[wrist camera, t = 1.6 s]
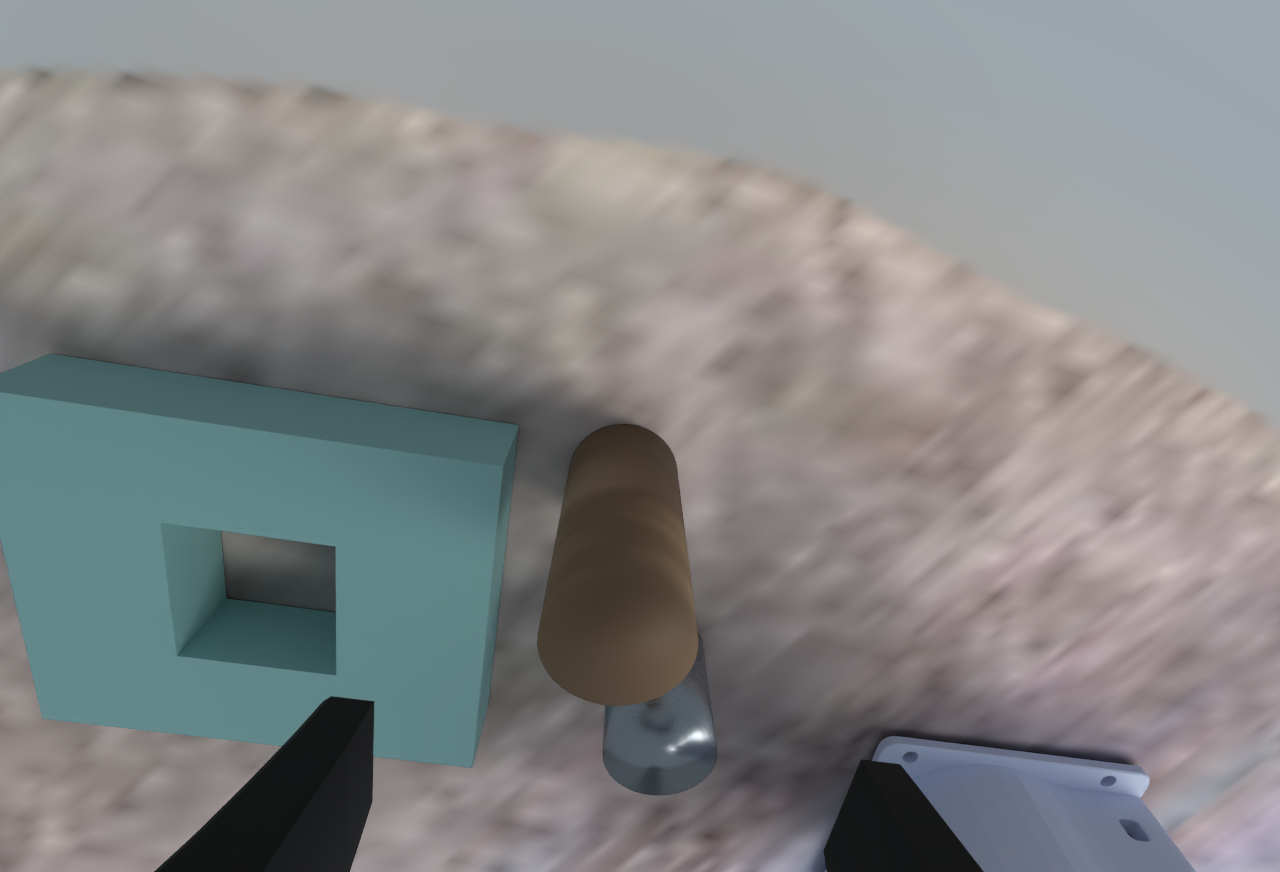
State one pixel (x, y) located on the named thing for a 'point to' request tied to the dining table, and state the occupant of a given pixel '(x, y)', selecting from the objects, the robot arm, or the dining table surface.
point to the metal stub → (663, 737)
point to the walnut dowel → (619, 574)
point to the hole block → (262, 506)
